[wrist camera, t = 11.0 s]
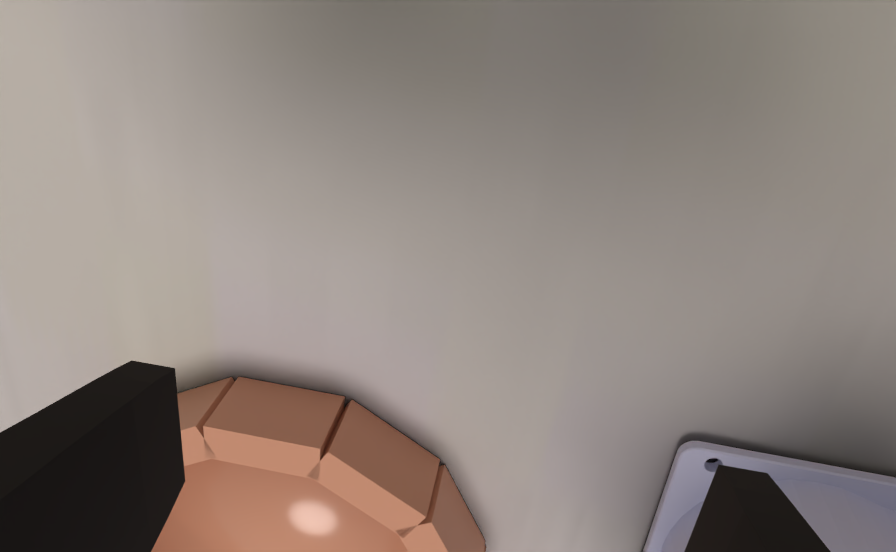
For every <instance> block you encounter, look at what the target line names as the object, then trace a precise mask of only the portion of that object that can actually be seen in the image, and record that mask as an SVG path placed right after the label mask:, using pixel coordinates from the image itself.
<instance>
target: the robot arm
mask: <svg viewBox="0 0 896 552" xmlns="http://www.w3.org/2000/svg"><path fill="white" fill-rule="evenodd" d="M711 458H717V459H719V460H718V461H717V462H714V463H707V462H706V460H708V459H711ZM184 483H185V472H184V461H183V451H182V440H181V429H180V419H179V408H178V397H177V387H176V376H175V368H170V367H164V366H159V365H153V364H147V363H142V362H136V361H130V362H128V363H126V364H124V365H122V366H120V367H118V368H116V369H114V370H112V371H110V372H109V373H107V374H105V375H103V376H101V377H99V378H98V379H96V380H94V381H92V382H90V383H89V384H87V385H85V386H83V387H81V388H80V389H78V390H76V391H74V392H72V393H71V394H69V395H67V396H65V397H64V398H62V399H60V400H58V401H56V402H55V403H53V404H51V405H49V406H48V407H46V408H44V409H42V410H41V411H39V412H37V413H35V414H33V415H31V416H30V417H28V418H26V419H24V420H22V421H21V422H19V423H17V424H15V425H13V426H12V427H10V428H8V429H6V430H4V431H2V432H1V433H0V552H151V551H152V549H153V547H154V545H155V543H156V541H157V539H158V537H159V535H160V533H161V531H162V529H163V527H164V525H165V523H166V521H167V519H168V517H169V515H170V513H171V511H172V508H173V506H174V504H175V502H176V500H177V498H178V496H179V493H180V491H181V489H182V487H183V485H184ZM643 552H896V477H890V476H885V475H880V474H874V473H869V472H863V471H858V470H853V469H847V468H842V467H836V466H831V465H826V464H820V463H815V462H809V461H804V460H799V459H793V458H788V457H782V456H777V455H772V454H766V453H761V452H755V451H750V450H745V449H739V448H734V447H728V446H723V445H718V444H712V443H707V442H701V441H689V442H686V443H684V444H683V445H681V446H680V447H679V449H678V450H677V453H676V456H675V459H674V462H673V465H672V468H671V471H670V474H669V476H668V479H667V482H666V485H665V488H664V491H663V494H662V497H661V500H660V503H659V506H658V509H657V512H656V514H655V517H654V520H653V523H652V526H651V529H650V532H649V535H648V538H647V541H646V544H645V547H644V550H643Z"/></svg>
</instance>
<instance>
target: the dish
mask: <svg viewBox="0 0 896 552" xmlns="http://www.w3.org/2000/svg"><path fill="white" fill-rule="evenodd" d="M177 397H178V408H179V419H180V429H181V440H182V451H183V461H184V472H185V483H184V485H183V487H182V489H181V491H180V493H179V496H178V498H177V500H176V502H175V504H174V506H173V508H172V511H171V513H170V515H169V517H168V519H167V521H166V523H165V525H164V527H163V529H162V531H161V533H160V535H159V537H158V539H157V541H156V543H155V545H154V547H153V549H152V551H151V552H485V551H486V546H485V540H484V538H483V536H482V534H481V532H480V530H479V528H478V526H477V525H476V523H475V521H474V519H473V517H472V515H471V513H470V511H469V509H468V508H467V506H466V504H465V502H464V500H463V498H462V496H461V494H460V492H459V491H458V489H457V487H456V485H455V483H454V481H453V479H452V477H451V475H450V474H449V472H448V470H447V468H446V466H445V465H441V466H439V462H440V459H439V458H437V457H436V456H434V455H433V454H431V453H430V452H428V451H427V450H425V449H424V448H422V447H421V446H419V445H418V444H417V443H415V442H414V441H412V440H411V439H409V438H408V437H406V436H405V435H403V434H402V433H400V432H399V431H397V430H396V429H395V428H393V427H392V426H390V425H389V424H387V423H386V422H384V421H383V420H381V419H380V418H378V417H377V416H375V415H374V414H373V413H371V412H370V411H368V410H367V409H365V408H364V407H362V406H361V405H359V404H358V403H356V402H355V401H353V400H351V401H350V402H349V403H348V404H347V406H346V407H345V408H344V402H345V396H339V395H334V394H329V393H323V392H318V391H313V390H308V389H302V388H297V387H292V386H286V385H281V384H276V383H270V382H265V381H260V380H254V379H249V378H244V377H238V378H237V380H236V381H234V380H233V378H232V377H230V378H226V379H223V380H220V381H217V382H213V383H210V384H207V385H204V386H200V387H197V388H194V389H191V390H187V391H184V392H181V393H178V394H177Z"/></svg>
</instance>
